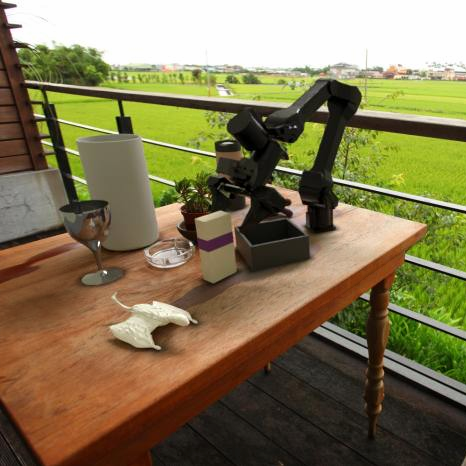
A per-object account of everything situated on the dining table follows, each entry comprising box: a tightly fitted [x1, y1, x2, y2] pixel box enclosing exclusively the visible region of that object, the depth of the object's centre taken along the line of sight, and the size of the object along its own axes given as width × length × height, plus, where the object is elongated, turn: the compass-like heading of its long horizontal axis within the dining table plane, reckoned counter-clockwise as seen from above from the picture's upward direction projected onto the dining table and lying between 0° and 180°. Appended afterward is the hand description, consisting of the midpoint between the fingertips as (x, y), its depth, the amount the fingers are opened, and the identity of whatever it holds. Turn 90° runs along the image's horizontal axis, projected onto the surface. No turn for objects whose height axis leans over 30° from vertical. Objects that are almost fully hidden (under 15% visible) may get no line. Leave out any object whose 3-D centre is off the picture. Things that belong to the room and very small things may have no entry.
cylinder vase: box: [75, 133, 160, 252], centre depth 90 cm, size 12×12×25 cm
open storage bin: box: [233, 217, 311, 271], centre depth 89 cm, size 13×13×6 cm
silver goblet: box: [58, 199, 123, 286], centre depth 76 cm, size 8×8×15 cm
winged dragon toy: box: [109, 291, 198, 351], centre depth 63 cm, size 18×10×4 cm, turn 66°
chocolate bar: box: [194, 211, 238, 284], centre depth 77 cm, size 3×6×13 cm, turn 146°
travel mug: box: [213, 139, 247, 211], centre depth 118 cm, size 8×8×20 cm
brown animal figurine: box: [276, 198, 294, 217], centre depth 114 cm, size 7×7×15 cm
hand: (225, 228), depth 78 cm, fingers open, 9 cm apart
